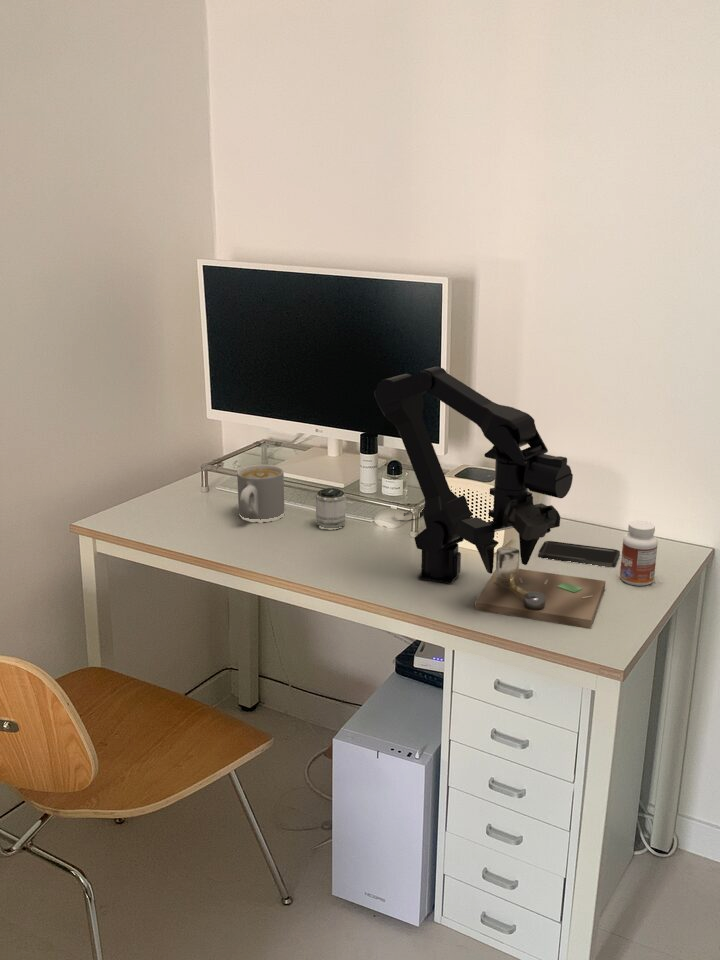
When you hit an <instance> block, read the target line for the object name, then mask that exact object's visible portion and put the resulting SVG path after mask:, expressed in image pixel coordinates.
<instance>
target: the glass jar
mask: <svg viewBox="0 0 720 960" xmlns="http://www.w3.org/2000/svg"><path fill="white" fill-rule="evenodd" d="M346 496H347V495H346V493H345V492H344V491H343V490H342V489H339V488H337V487H327V488H322V489H320V490H318V491H317V492H316V495H315V517H316V523H317V526H318V525H319V526H321V527H324V528H339V527H342V526H343V525H344V526H345V523H346V517H347V513H346V511H347V509H346V501H347V500H346V499H347V497H346ZM345 514H346V516H345Z"/></svg>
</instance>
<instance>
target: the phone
mask: <svg viewBox="0 0 720 960" xmlns="http://www.w3.org/2000/svg"><path fill="white" fill-rule="evenodd" d="M620 552H621V551H620V550H618V549H614V548H607V547H599V546H592V545H586V544H585V545H583V544H576V543H569V542H560V541H553V540H546V541H544V542H543V544H542V545H541V546H540V549H539V550H538V558H540V557H541V559H544V558H548V559H547V560H552V559H554V560H553V561H559V560H561V561H560V562H566V561H571V562H570V563H573V562H578V563H577V564H580V563H585V564H584V565H587V564H592V565H591V566H595V565H598V566H597V567H602V566H605V567H604V568H609V567H613V568H615V567H616V566H617V564H618V561H619V559H620V554H621V553H620Z"/></svg>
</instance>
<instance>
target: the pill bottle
mask: <svg viewBox="0 0 720 960" xmlns="http://www.w3.org/2000/svg"><path fill="white" fill-rule="evenodd" d="M627 529H628V530H627V531H628V532H627V533H626V534H625V535H624V536H623V539H622V547H621V548H622V551H621V558H620V559H621V561H620V569H619V570H620V571H619V578H620V579H621V580H622V581H623V582H624V583H626V584H628V585H632V586H637V587H640V586H641V587H643V586H648V585H650V584H652V583H653V582H654V581H655V580H654V579H655V574H656V564H657V555H658V554H657V553H658V545H659V542H658V538H657V537H656V536H655V535H654V534H655V531H656V525H655V524H654V523H652V522H651V521H648V520H644V519H643V520H641V519H634V520H631V521H629V523H628V527H627Z"/></svg>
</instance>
